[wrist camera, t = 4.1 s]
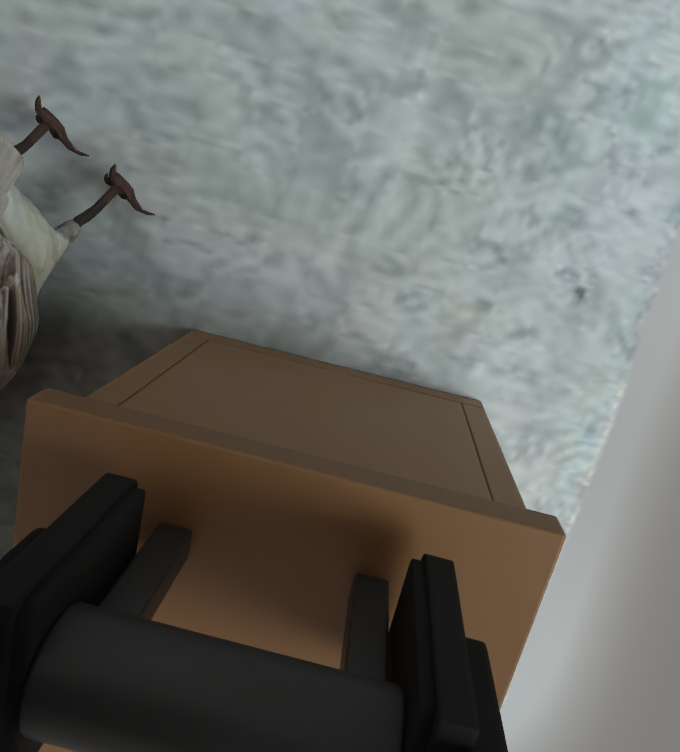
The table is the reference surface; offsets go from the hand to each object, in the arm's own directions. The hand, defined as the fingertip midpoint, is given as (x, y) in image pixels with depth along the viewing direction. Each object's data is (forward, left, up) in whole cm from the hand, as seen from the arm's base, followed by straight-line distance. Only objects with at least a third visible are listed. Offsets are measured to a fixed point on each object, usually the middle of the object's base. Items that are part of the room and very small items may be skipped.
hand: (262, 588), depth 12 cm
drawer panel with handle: (+5, +1, -2) cm, 5 cm away
